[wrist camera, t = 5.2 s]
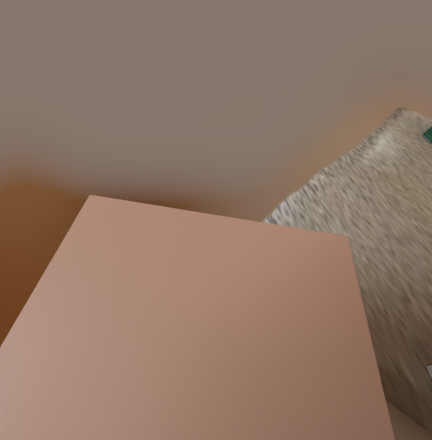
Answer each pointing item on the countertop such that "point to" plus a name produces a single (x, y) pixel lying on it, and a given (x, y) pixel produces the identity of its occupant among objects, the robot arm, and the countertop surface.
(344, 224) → the countertop surface
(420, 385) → the countertop surface
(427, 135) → the coffee box
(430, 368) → the ink box
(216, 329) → the column
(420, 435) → the walnut block
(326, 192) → the countertop surface
